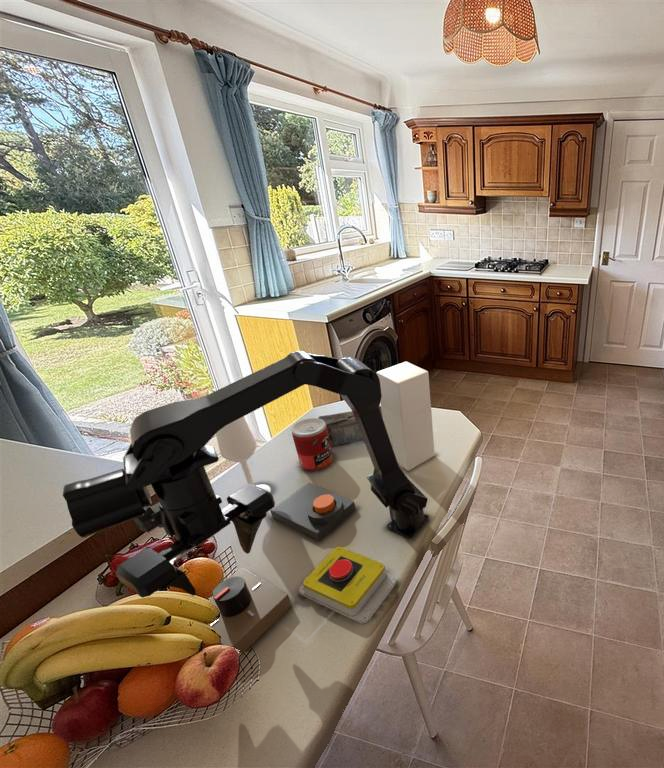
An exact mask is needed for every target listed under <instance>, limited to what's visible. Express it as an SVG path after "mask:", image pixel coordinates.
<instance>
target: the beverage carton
mask: <svg viewBox="0 0 664 768" xmlns="http://www.w3.org/2000/svg"><path fill="white" fill-rule="evenodd" d="M379 408H380V412H381V415H382V410H381V405H380V406H379ZM382 418H383V417H382ZM318 419H322V420H323V421H325V424H326V427H327V431H328V436H329V441H330V445H331V447H332V446H337V445H344V444H348V443H353V442H359V441H364V440H363V437H362V435H361V432H360V430H359V427H358V424H357V422H356V419H355V417H354V414H353V411H352V410H351V411H346V412H339V413H334V414H325V415H319V416H318Z"/></svg>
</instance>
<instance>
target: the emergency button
mask: <svg viewBox="0 0 664 768" xmlns="http://www.w3.org/2000/svg"><path fill="white" fill-rule="evenodd" d="M397 582H398V580H397V577H396V575H393V574H392V573H388V572H387V570H386V566H385V564H384V563H382V562H380V561H377V560H375V559H372V558H370V557H368V556H365V555H363V554H360V553H358V552H355V551H353V550H350V549H348V548H345V547H343V546H336V547H335V548H334V549H333V550H332V551H331V552H329V554H328V555H327V556H326V557H325V558H324V559H323V560H322V561H321V562H320V563H319V564H318V565H317V566H316V567H315V568H314V569H313V570H312V572H310V574H309V575H307V577H305V579H304V580H303V583H302V584H301V585H300V587H299V588H298V591H299V594H300V595H301V596H302V597H305V598H307V599H308V600H311V601H313V602H315V603H317V604H319V605H321V606H323V607H326V608H327V609H330V610H332V611H334V612H335V613H338V614H339V615H342V616H344V617H347V618H348V619H350V620H353V621H354V622H357V623H358V624H367V623H368V622H369V621H370V620H371V619H372V617H373V616H374V614H375V613H376V612H377V611H378V609H379V608H380V606H381V605H382V604H383V602H384V601H385V600H386V598H387V597H388V596H389V594H390V593H391V591H392V590H393V589H394V588H395V586H396V585H397Z"/></svg>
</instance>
